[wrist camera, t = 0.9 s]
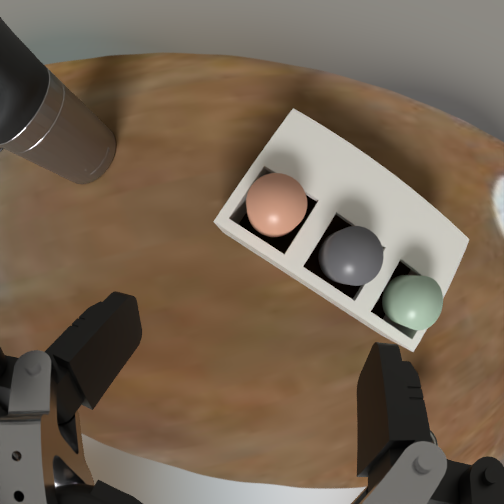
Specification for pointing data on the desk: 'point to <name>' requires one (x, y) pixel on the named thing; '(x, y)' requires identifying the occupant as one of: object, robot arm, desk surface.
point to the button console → (349, 218)
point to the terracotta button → (276, 204)
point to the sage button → (413, 301)
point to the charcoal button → (351, 256)
